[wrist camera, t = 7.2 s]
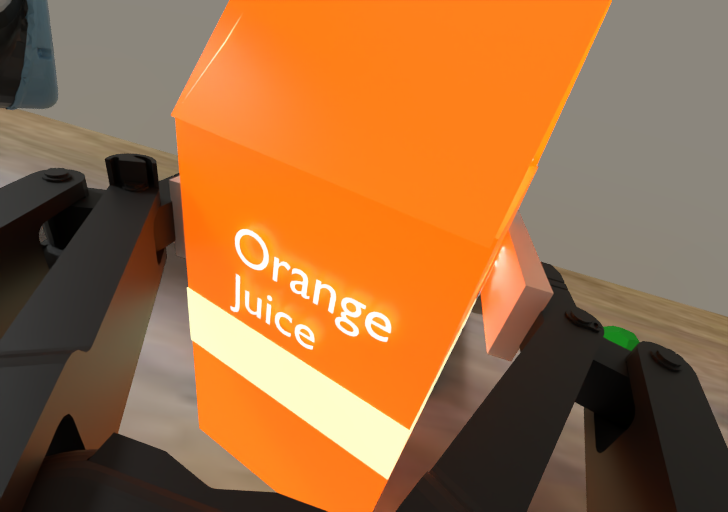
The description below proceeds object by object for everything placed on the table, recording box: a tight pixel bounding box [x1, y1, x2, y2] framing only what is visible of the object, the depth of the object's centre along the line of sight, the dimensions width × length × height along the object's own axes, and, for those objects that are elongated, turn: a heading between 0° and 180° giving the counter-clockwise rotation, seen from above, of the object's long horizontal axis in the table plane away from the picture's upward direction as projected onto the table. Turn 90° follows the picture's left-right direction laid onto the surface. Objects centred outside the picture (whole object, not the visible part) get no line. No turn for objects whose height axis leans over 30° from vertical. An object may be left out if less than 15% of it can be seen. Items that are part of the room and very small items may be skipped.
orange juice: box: [171, 0, 612, 512], centre depth 13 cm, size 8×9×20 cm
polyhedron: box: [603, 326, 640, 351], centre depth 35 cm, size 5×5×5 cm
